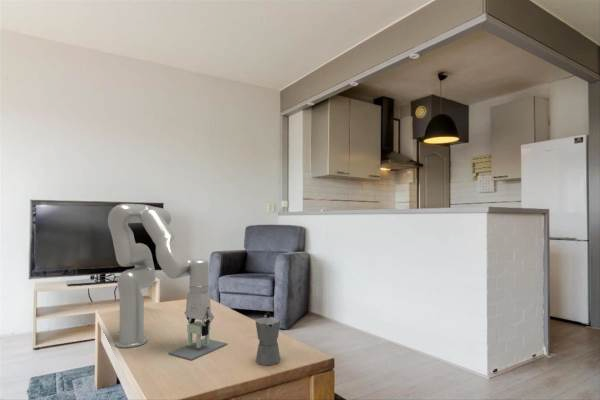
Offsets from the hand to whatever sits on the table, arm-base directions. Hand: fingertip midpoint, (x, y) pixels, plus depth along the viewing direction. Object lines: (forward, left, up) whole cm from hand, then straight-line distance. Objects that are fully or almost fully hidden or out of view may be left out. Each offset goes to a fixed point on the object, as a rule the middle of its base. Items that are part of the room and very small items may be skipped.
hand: (198, 333), depth 154 cm
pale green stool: (0, 0, -4) cm, 4 cm away
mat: (0, 0, -6) cm, 6 cm away
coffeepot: (+31, +5, -7) cm, 32 cm away
